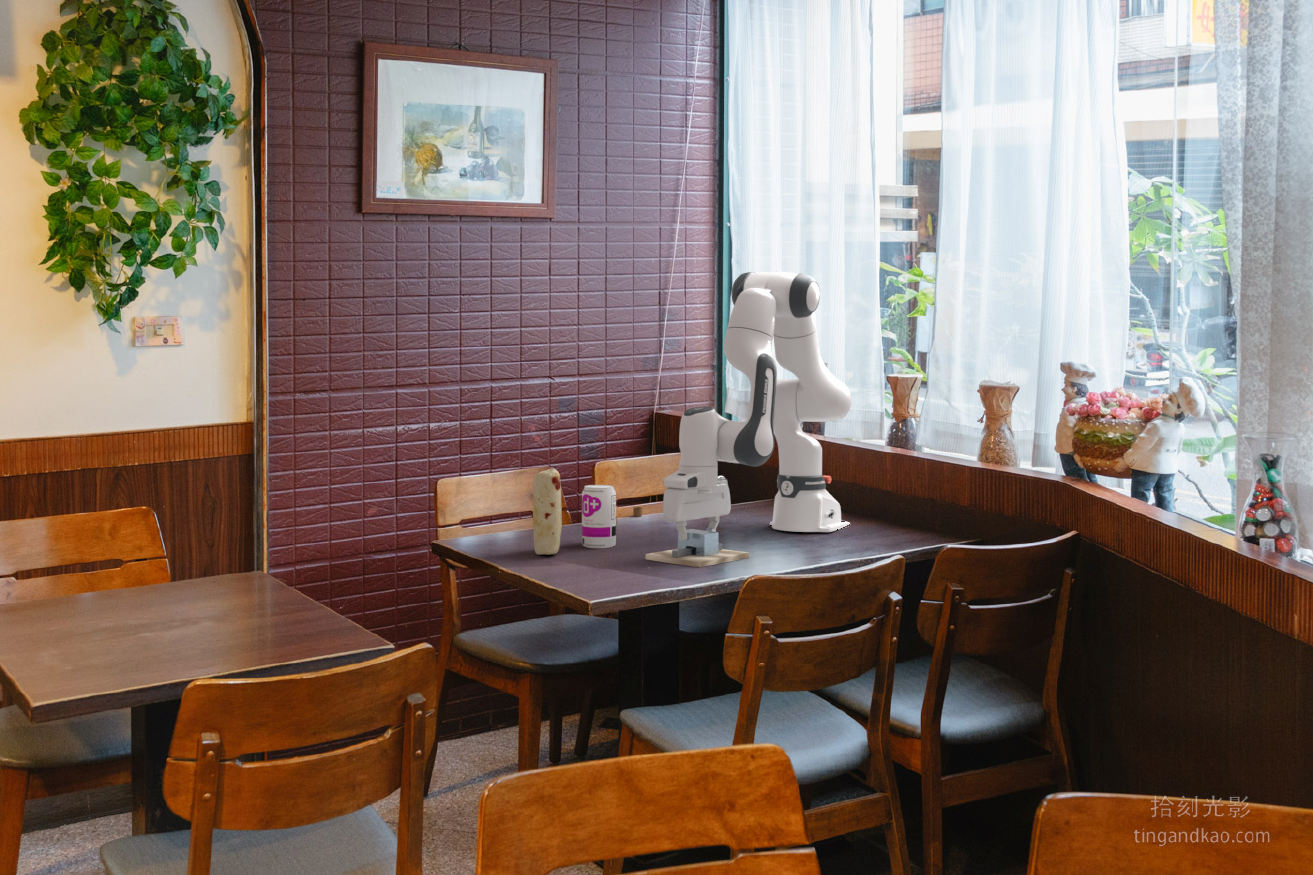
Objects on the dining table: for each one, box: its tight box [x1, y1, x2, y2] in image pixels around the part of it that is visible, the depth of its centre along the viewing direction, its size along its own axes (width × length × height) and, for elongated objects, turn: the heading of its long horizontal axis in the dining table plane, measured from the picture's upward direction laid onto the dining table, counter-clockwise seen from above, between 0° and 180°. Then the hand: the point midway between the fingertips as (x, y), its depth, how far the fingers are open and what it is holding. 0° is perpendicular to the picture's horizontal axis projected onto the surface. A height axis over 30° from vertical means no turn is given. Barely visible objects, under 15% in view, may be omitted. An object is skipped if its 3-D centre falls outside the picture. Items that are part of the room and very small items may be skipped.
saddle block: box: [677, 528, 720, 557], centre depth 275 cm, size 5×8×5 cm, turn 48°
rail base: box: [645, 548, 750, 568], centre depth 275 cm, size 18×16×1 cm
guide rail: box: [671, 542, 723, 558], centre depth 275 cm, size 16×2×2 cm, turn 138°
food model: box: [532, 468, 563, 556], centre depth 280 cm, size 10×7×20 cm
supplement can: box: [581, 484, 617, 549], centre depth 290 cm, size 8×8×15 cm
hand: (697, 537), depth 275 cm, fingers open, 8 cm apart
